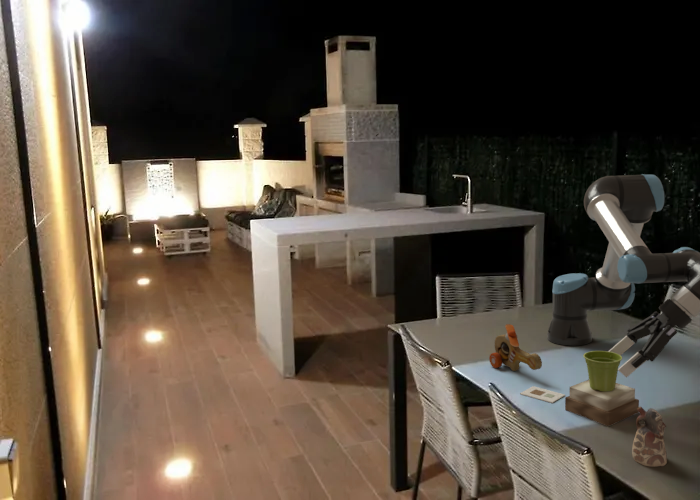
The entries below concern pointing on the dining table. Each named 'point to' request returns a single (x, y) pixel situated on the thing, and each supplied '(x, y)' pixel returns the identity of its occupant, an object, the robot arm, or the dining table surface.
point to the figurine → (649, 439)
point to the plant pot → (602, 369)
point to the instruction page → (542, 394)
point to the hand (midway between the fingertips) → (616, 364)
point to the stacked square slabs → (602, 403)
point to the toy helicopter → (512, 352)
